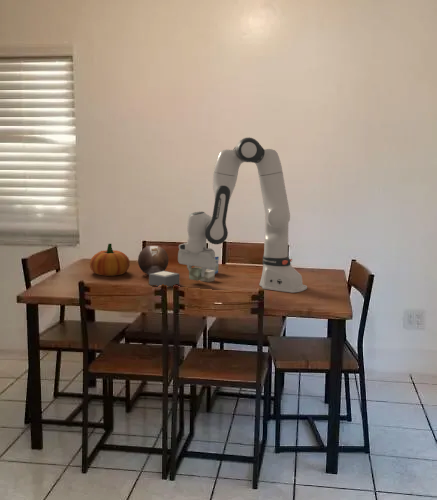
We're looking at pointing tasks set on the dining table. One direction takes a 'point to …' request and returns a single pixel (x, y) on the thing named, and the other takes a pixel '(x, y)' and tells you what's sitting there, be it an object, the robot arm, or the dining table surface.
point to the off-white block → (209, 275)
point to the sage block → (195, 273)
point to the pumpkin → (109, 262)
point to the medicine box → (216, 265)
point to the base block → (164, 278)
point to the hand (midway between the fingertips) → (196, 275)
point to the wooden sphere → (153, 259)
